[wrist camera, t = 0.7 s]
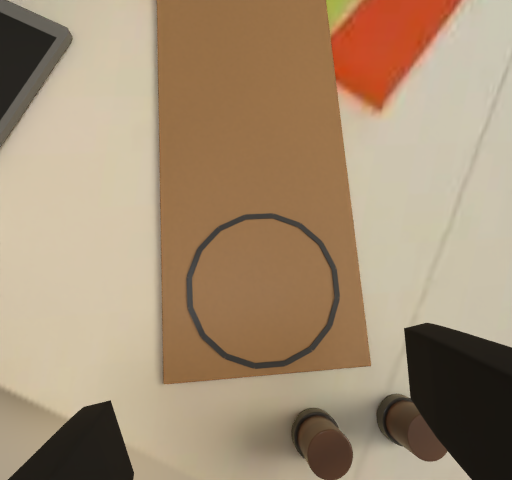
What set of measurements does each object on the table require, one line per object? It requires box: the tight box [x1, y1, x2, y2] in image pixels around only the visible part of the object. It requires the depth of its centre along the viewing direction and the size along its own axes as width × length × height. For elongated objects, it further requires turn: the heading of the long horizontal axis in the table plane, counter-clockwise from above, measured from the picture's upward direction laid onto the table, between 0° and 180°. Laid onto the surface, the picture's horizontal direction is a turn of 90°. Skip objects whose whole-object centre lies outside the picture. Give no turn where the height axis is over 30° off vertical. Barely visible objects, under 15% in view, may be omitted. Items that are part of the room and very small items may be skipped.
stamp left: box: [292, 408, 353, 480], centre depth 23 cm, size 3×3×4 cm
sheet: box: [157, 0, 371, 384], centre depth 29 cm, size 43×15×1 cm, turn 4°
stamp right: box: [377, 394, 447, 461], centre depth 24 cm, size 3×3×4 cm
